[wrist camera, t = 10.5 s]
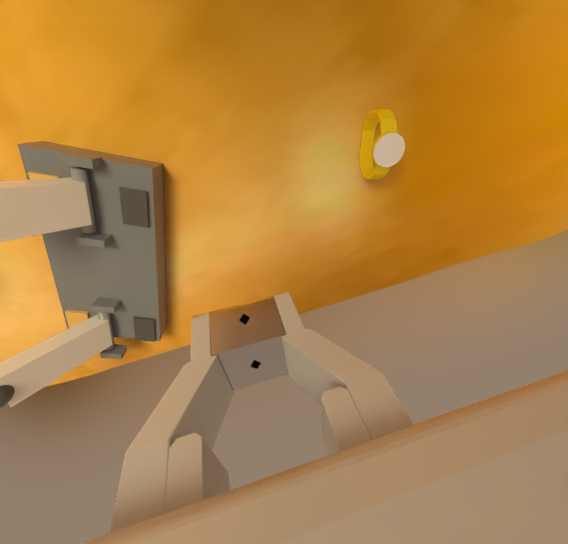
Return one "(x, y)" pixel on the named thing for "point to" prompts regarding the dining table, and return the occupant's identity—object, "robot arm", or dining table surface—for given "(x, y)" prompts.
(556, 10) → the dining table surface
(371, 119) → the watch
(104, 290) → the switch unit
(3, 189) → the lever
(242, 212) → the dining table surface
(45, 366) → the lever
